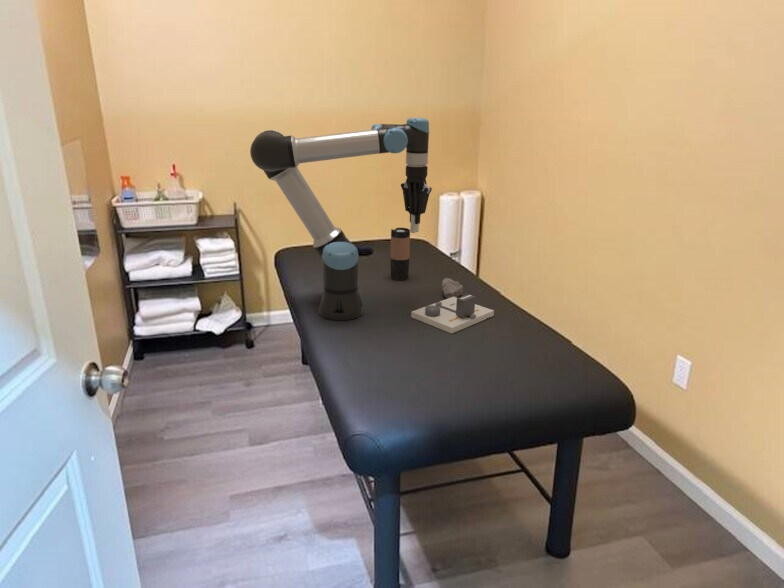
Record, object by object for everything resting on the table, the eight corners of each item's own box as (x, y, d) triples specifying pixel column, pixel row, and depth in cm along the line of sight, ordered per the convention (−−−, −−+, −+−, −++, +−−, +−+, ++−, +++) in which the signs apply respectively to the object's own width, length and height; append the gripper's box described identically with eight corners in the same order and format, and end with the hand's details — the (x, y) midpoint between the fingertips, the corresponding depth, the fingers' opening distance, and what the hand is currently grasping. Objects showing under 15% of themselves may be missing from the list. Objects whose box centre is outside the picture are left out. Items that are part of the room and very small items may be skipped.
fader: (462, 317, 187) (463, 300, 185) (455, 315, 189) (456, 297, 187) (474, 313, 191) (475, 296, 189) (467, 310, 193) (468, 293, 191)
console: (451, 333, 181) (452, 322, 180) (411, 317, 194) (411, 306, 192) (493, 315, 196) (494, 305, 194) (453, 301, 208) (453, 291, 207)
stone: (447, 301, 209) (447, 286, 207) (433, 293, 217) (433, 278, 215) (465, 297, 212) (466, 282, 210) (451, 290, 220) (451, 275, 218)
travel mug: (408, 281, 228) (410, 232, 221) (389, 280, 228) (390, 232, 221) (408, 275, 236) (410, 227, 229) (390, 274, 236) (391, 227, 229)
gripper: (438, 166, 194) (435, 234, 202) (410, 162, 203) (408, 227, 211) (423, 168, 189) (420, 237, 197) (395, 163, 198) (394, 230, 206)
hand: (414, 232), depth 204 cm, fingers closed
